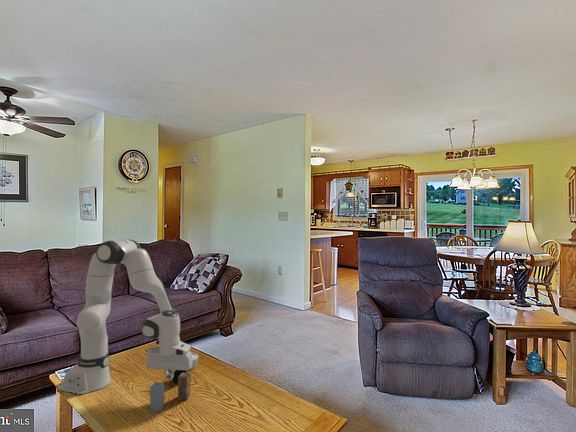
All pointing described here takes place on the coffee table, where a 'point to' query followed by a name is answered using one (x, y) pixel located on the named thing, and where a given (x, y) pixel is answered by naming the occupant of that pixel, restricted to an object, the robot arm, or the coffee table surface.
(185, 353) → the robot arm
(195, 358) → the ramekin
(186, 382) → the walnut block
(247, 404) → the coffee table surface
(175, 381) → the coffee mug
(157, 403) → the slate block
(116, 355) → the coffee table surface
